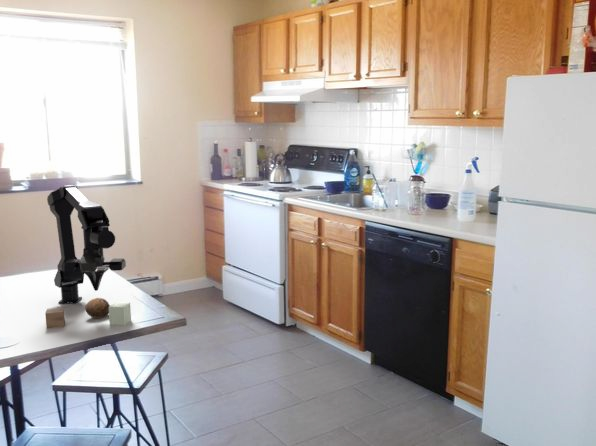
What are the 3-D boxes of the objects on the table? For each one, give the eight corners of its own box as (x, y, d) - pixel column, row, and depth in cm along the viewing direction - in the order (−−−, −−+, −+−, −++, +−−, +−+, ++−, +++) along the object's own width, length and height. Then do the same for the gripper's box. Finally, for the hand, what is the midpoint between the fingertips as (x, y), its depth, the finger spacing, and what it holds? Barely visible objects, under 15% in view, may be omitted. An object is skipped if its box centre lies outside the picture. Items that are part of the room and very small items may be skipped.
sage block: (116, 319, 190) (115, 302, 189) (131, 320, 189) (130, 302, 188) (109, 325, 185) (108, 306, 184) (124, 325, 184) (123, 307, 183)
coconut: (84, 303, 197) (90, 291, 194) (107, 309, 200) (113, 297, 197) (80, 321, 190) (86, 308, 187) (104, 327, 193) (110, 315, 190)
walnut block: (48, 323, 187) (46, 308, 186) (64, 322, 188) (63, 307, 187) (46, 328, 182) (45, 313, 181) (63, 327, 184) (62, 311, 183)
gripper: (55, 249, 181) (58, 298, 184) (116, 248, 182) (119, 296, 185) (67, 242, 192) (70, 288, 195) (124, 241, 193) (127, 287, 196)
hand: (96, 290), depth 192 cm, fingers closed
